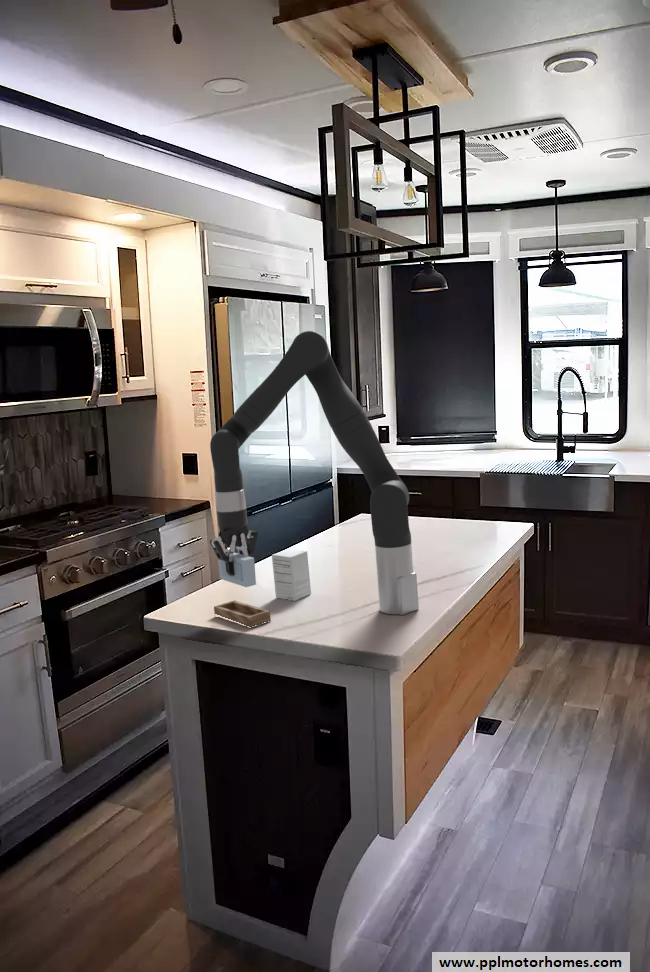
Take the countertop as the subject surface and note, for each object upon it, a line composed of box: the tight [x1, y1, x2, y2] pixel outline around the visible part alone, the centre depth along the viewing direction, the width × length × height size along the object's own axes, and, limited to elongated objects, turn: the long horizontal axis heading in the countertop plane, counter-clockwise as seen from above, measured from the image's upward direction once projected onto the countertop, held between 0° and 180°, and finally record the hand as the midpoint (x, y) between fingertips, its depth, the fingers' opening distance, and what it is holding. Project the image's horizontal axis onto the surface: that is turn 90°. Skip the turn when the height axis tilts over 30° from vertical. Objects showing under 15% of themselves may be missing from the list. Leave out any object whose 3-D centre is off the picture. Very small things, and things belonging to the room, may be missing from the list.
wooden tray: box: [213, 600, 272, 627], centre depth 208 cm, size 16×6×3 cm, turn 41°
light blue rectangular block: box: [217, 552, 257, 588], centre depth 206 cm, size 12×3×7 cm, turn 41°
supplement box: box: [271, 548, 312, 602], centre depth 224 cm, size 7×7×13 cm
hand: (237, 573), depth 206 cm, fingers closed on light blue rectangular block, 3 cm apart
